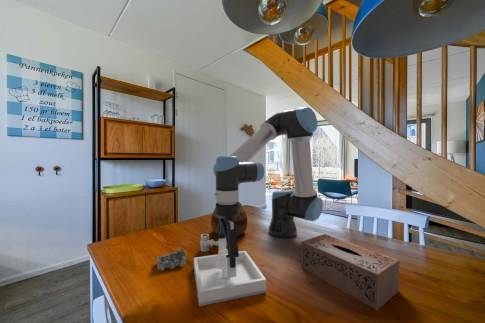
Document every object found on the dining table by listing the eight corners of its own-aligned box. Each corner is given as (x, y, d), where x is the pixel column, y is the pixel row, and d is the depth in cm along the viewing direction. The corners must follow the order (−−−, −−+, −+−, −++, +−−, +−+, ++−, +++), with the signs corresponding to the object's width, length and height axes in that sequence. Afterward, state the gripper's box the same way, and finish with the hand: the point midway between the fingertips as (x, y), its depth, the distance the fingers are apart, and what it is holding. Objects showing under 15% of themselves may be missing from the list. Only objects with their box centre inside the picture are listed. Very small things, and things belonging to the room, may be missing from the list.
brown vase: (212, 241, 99) (213, 180, 98) (209, 227, 118) (209, 176, 118) (251, 238, 103) (252, 179, 103) (242, 225, 123) (242, 175, 122)
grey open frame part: (185, 258, 84) (185, 248, 83) (186, 267, 76) (187, 256, 76) (156, 262, 80) (156, 252, 80) (156, 272, 73) (156, 261, 73)
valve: (197, 253, 87) (225, 255, 86) (197, 238, 87) (225, 239, 86) (202, 246, 94) (228, 248, 92) (202, 232, 94) (228, 233, 92)
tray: (245, 260, 81) (245, 250, 81) (266, 292, 62) (266, 279, 62) (193, 268, 75) (193, 257, 75) (199, 306, 56) (199, 292, 56)
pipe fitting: (235, 281, 65) (234, 255, 66) (213, 280, 66) (213, 255, 66) (238, 271, 72) (237, 248, 72) (218, 271, 72) (217, 248, 73)
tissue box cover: (301, 268, 76) (301, 241, 76) (324, 257, 85) (324, 233, 84) (377, 311, 55) (377, 274, 55) (398, 292, 63) (399, 260, 63)
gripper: (210, 196, 79) (209, 250, 79) (223, 212, 55) (223, 290, 55) (229, 195, 81) (228, 248, 81) (250, 210, 57) (249, 285, 58)
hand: (226, 265), depth 68 cm, fingers open, 13 cm apart
